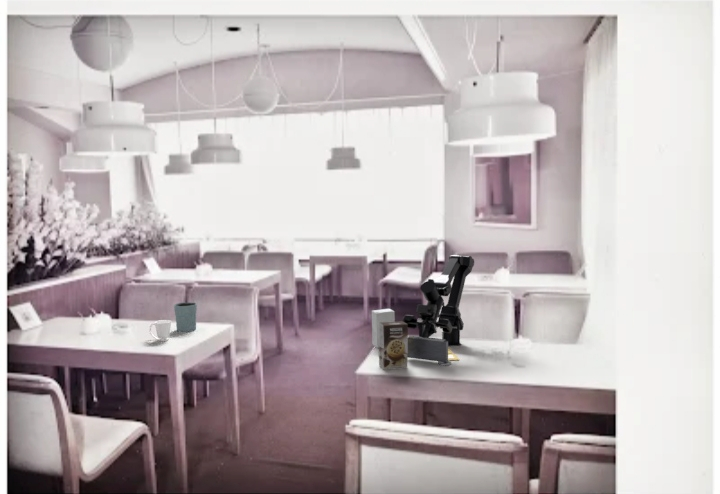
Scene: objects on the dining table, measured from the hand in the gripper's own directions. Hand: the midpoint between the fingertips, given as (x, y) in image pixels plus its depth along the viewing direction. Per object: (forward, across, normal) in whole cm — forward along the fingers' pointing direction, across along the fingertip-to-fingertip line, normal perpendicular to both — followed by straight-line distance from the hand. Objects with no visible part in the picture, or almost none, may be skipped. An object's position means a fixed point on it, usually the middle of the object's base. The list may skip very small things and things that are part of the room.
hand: (420, 342), depth 236 cm
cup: (+24, -111, -14) cm, 114 cm away
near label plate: (-6, +2, +16) cm, 17 cm away
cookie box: (+14, -4, -4) cm, 15 cm away
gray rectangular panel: (+5, +3, +3) cm, 7 cm away
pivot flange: (+5, +10, +4) cm, 12 cm away
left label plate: (-1, +8, +10) cm, 13 cm away
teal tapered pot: (+10, -116, 0) cm, 117 cm away
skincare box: (-4, -23, +13) cm, 26 cm away
